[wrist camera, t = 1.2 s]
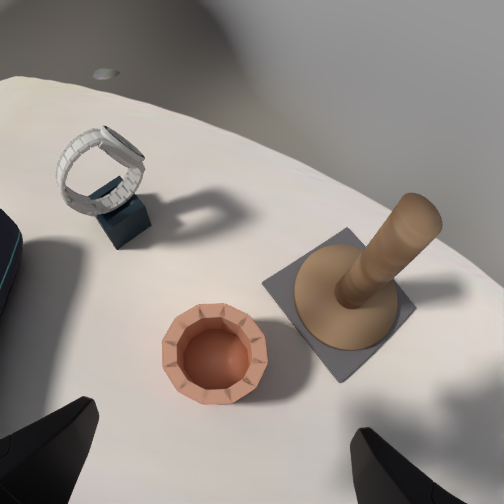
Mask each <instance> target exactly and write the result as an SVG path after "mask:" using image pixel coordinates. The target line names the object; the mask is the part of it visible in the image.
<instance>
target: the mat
mask: <svg viewBox="0 0 504 504" xmlns="http://www.w3.org/2000/svg"><path fill="white" fill-rule="evenodd" d="M338 244H340V245H350V246H354V247H357V248H360V249H362V250H364V249H365V248H366V247H365V246H364V245H363V244H362V243H361V242H360V240H359V239H358V238H357V237H356V236H355V235H354V234H353V233H352V232H351V231H350V229H349V228H348V227H347V228H345V229H344V230H342V231H341V232H339V233H338V234H336V235H334V236H333V237H331V238H330V239H328V240H327V241H325V242H324V243H322V244H321V245H319V246H318V247H316V248H315V249H313V250H312V251H310V252H309V253H307V254H305V255H304V256H302V257H301V258H299V259H298V260H296V261H295V262H293V263H291V264H290V265H288V266H287V267H285V268H284V269H282V270H281V271H279V272H277V273H276V274H274V275H273V276H271V277H269V278H268V279H266V280H265V281H263V282H262V285H263V286H264V287H265V288H266V290H267V291H268V292H269V294H270V295H271V296H272V298H273V299H274V300H275V301H276V303H277V304H278V305H279V307H280V308H281V309H282V311H283V312H284V313H285V314H286V316H287V317H288V318H289V320H290V321H291V322H292V323H293V325H294V326H295V327H296V329H297V330H298V331H299V332H300V334H301V335H302V336H303V338H304V339H305V340H306V341H307V343H308V344H309V345H310V347H311V348H312V349H313V350H314V352H315V353H316V354H317V356H318V357H319V358H320V359H321V361H322V362H323V363H324V365H325V366H326V367H327V368H328V370H329V371H330V372H331V373H332V375H333V376H334V377H335V379H336V380H337V381H338V382H339V383H341V382H342V381H343V380H344V379H345V378H347V377H348V376H349V375H350V374H351V373H352V372H353V371H354V370H355V369H356V368H358V367H359V366H360V365H361V364H362V363H363V362H364V361H365V360H366V359H367V358H368V357H369V356H370V355H371V354H372V353H373V352H374V351H375V350H376V349H377V348H378V347H379V346H380V345H381V344H382V343H383V342H384V341H385V340H386V339H387V338H388V337H389V336H390V335H391V334H392V333H393V332H394V331H395V330H396V329H397V328H398V327H399V326H400V324H401V323H402V322H403V321H404V320H405V319H406V318H407V317H408V316H409V314H410V313H411V312H412V311H413V310H414V309H415V308H416V307H415V306H414V304H413V303H412V302H411V301H410V299H409V298H408V297H407V296H406V294H405V293H404V292H403V291H402V289H401V288H400V287H399V286H398V284H397V283H396V282H395V281H394V280H393V279H392V280H393V283H394V286H395V289H396V293H397V313H396V317H395V320H394V322H393V325H392V327H391V328H390V330H389V331H388V333H387V334H386V335H385V336H384V337H383V338H382V339H381V340H379V341H378V342H376V343H375V344H373V345H371V346H369V347H366V348H364V349H360V350H355V351H343V350H337V349H334V348H331V347H329V346H327V345H325V344H323V343H321V342H320V341H318V340H317V339H316V338H314V337H313V336H312V335H311V334H310V333H309V332H308V331H307V329H306V328H305V327H304V325H303V324H302V322H301V320H300V318H299V316H298V314H297V311H296V308H295V304H294V295H293V293H294V284H295V280H296V277H297V274H298V272H299V270H300V268H301V266H302V264H303V263H304V262H305V260H306V259H307V258H308V257H309V256H310V255H311V254H313V253H314V252H315V251H317V250H319V249H321V248H323V247H326V246H330V245H338Z"/></svg>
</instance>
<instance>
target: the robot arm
mask: <svg viewBox="0 0 504 504" xmlns="http://www.w3.org/2000/svg"><path fill="white" fill-rule="evenodd" d="M98 421H99V412H98V409H97V406H96V403H95V401H94V400H93V399H92V398H89V397H86V396H82V397H80V398H78V399H77V400H75V401H73V402H71V403H69V404H68V405H66V406H64V407H62V408H60V409H58V410H57V411H55V412H53V413H51V414H49V415H47V416H45V417H44V418H42V419H40V420H38V421H36V422H34V423H32V424H30V425H28V426H26V427H24V428H22V429H21V430H19V431H17V432H15V433H13V434H12V435H8V436H6V437H4V438H2V439H0V504H68V502H69V499H70V497H71V494H72V492H73V489H74V487H75V484H76V482H77V479H78V477H79V474H80V472H81V470H82V467H83V465H84V463H85V460H86V458H87V456H88V453H89V450H90V447H91V444H92V441H93V437H94V434H95V431H96V427H97V424H98ZM350 453H351V462H352V473H353V482H354V487H355V492H356V496H357V501H358V504H467V503H465V502H463V501H461V500H460V499H458V498H456V497H455V496H453V495H452V494H450V493H449V492H447V491H446V490H445V489H443V488H442V487H440V486H439V485H438V484H437V483H435V482H433V480H432V479H430V478H429V477H428V476H427V475H425V474H424V473H423V472H422V471H420V470H419V469H418V468H417V467H416V466H414V465H413V464H412V463H411V462H410V461H408V460H407V459H406V458H405V457H404V456H403V455H401V454H400V453H399V452H398V451H397V450H395V449H394V448H393V447H392V446H391V445H390V444H389V443H387V442H386V441H385V440H384V439H383V438H382V437H381V436H379V435H378V434H377V433H376V432H375V431H374V430H373V429H371V428H370V427H365V428H359V429H358V430H357V431H356V433H355V435H354V437H353V439H352V441H351V443H350Z"/></svg>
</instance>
